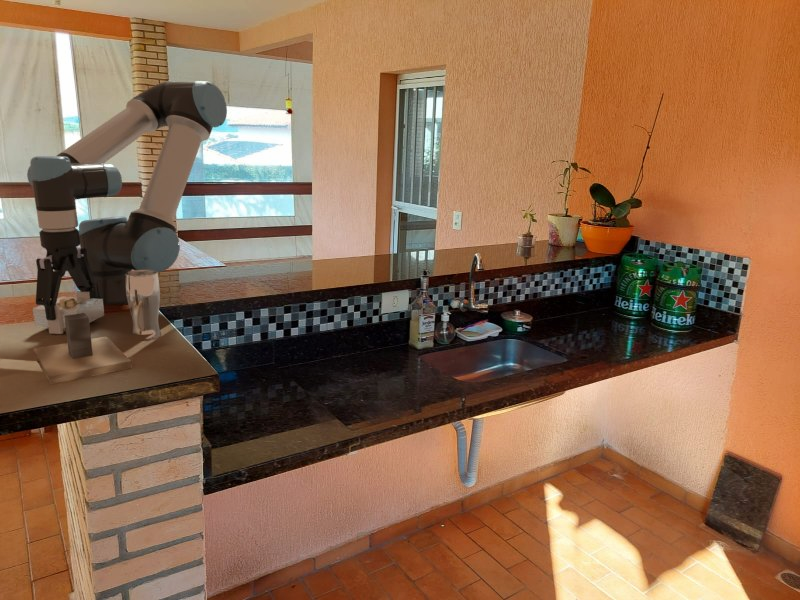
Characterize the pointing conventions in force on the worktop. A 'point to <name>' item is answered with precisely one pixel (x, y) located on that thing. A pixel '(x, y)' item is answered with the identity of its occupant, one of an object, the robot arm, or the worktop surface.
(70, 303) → the stand
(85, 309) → the white square frame
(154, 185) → the robot arm
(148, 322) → the beer glass
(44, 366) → the hub base
